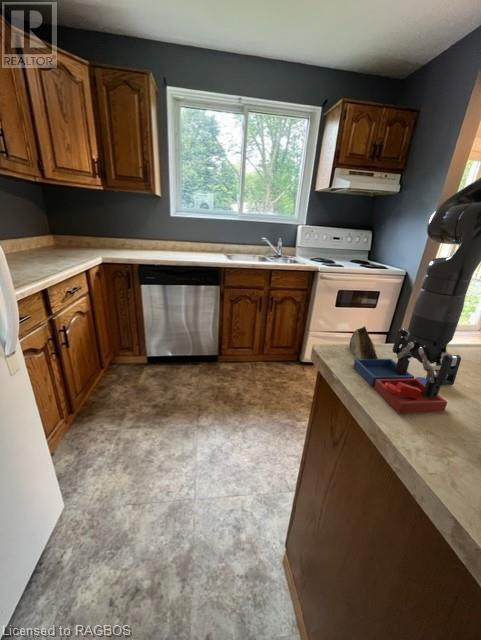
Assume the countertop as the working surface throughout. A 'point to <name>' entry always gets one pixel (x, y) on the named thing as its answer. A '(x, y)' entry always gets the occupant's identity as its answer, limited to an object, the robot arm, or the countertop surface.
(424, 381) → the blue spoon
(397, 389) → the red spoon
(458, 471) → the countertop surface
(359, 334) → the rock
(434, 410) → the red tray
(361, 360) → the blue tray
